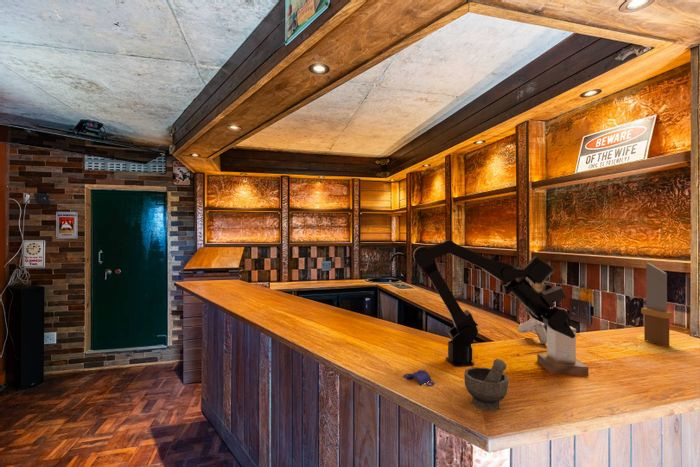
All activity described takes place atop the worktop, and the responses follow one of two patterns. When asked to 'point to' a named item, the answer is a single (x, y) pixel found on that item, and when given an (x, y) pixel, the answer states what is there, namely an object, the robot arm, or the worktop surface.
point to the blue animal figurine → (420, 377)
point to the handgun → (536, 325)
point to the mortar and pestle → (487, 385)
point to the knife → (656, 306)
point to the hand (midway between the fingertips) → (566, 333)
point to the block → (562, 366)
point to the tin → (561, 346)
